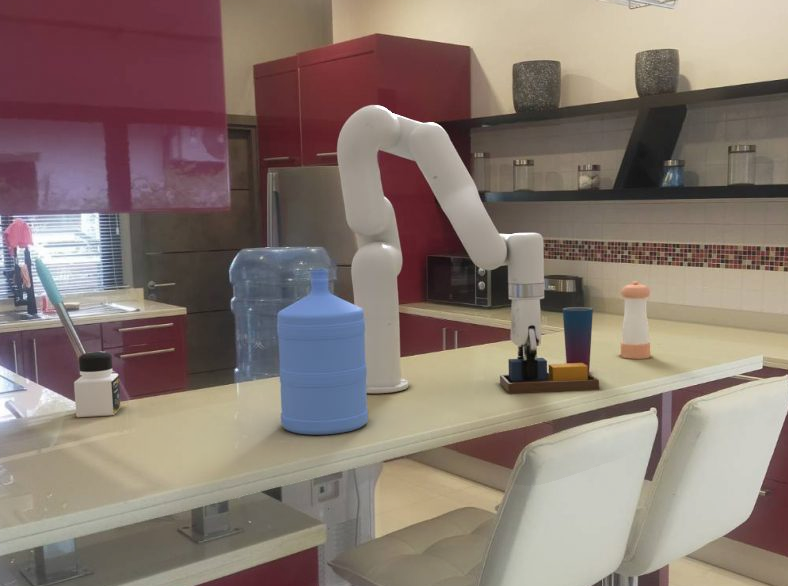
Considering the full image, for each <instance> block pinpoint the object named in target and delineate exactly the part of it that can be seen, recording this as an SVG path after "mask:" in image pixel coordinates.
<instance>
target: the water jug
mask: <svg viewBox="0 0 788 586" xmlns="http://www.w3.org/2000/svg"><path fill="white" fill-rule="evenodd" d="M309 273H310V278H311V279H310V287H311V289H310V292H309V294H308V295H306V296H304V297H303V298H301V299H299V300H297V301H296V302H294V303H291V304H289V305H288V306H286V307H284V308H283V309H280V310H279V311H278V312H277V314H276V315H277V316H276V318H277V322H276V334H277V338H278V339H277V340H278V341H277V343H278V357H279V383H280V408H281V409H280V410H281V413H280V424H281V426H282V427H283V428H284V429H285V430H286V431H288V432H291V433H293V434H294V433H295V434H298V435H299V434H300V435H308V436H309V435H311V436H324V435H337V434H343V433H348V432H352V431H355V430H359V429H360V428H362V427H363V426H365V425H366V424H367V423H368V420H369V409H368V399H367V398H368V396H367V395H368V393H366V377H367V368H366V363H365V319H364V311H363V309H362V308H360V307H358V306H356V305H354V303H352V302H349V301H348V300H345V299H343V298H340V297H338V296H336V295H334V294H332V292H330V289H329V282H330V281H329V278H328V273H329V270H328V269H316V270H315V269H314V270H309Z"/></svg>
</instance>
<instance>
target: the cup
mask: <svg viewBox="0 0 788 586" xmlns="http://www.w3.org/2000/svg"><path fill="white" fill-rule="evenodd" d="M593 312H594V308H593V307H588V306H587V307H585V306H572V307H571V306H570V307H564V308H562V321H563V333H564V335H563V336H564V345H565V346H564V350H565V364H568V363H583V364H585V365H587V366H588V373H589V374H590V368H591V367H590V366H591V365H590V364H591V350H592V349H591V348H592V346H591V345H592V332H593V314H594V313H593Z"/></svg>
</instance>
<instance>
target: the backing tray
mask: <svg viewBox="0 0 788 586" xmlns="http://www.w3.org/2000/svg"><path fill="white" fill-rule="evenodd" d="M499 384H500V386H501V387H502V388H503V389H504V390H505V391H506V392H507V394H524V393H525V394H528V393H549V392H550V393H552V392H569V391H570V392H571V391H574V392H575V391H593V390H594V391H595V390H596V391H597V390H600V380H599V379H598V378H597V377H595V376H594V375H592V374H590V372H589V373H588V380H577V381H554V382H549V372H547V379H543V380H522V381H512V380H511V379H510V378H509V374H500V375H499Z"/></svg>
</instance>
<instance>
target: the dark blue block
mask: <svg viewBox="0 0 788 586" xmlns="http://www.w3.org/2000/svg"><path fill="white" fill-rule="evenodd" d="M522 361H523V359H517V358H508V361H507V362H508V375H509V378H510V379H511V380H512V381H522V380H524V379H523V378H522ZM537 364H538V378H537V379H527V380H543V379H547V373H548V360H547V359H546V358H544V357H537Z"/></svg>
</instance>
